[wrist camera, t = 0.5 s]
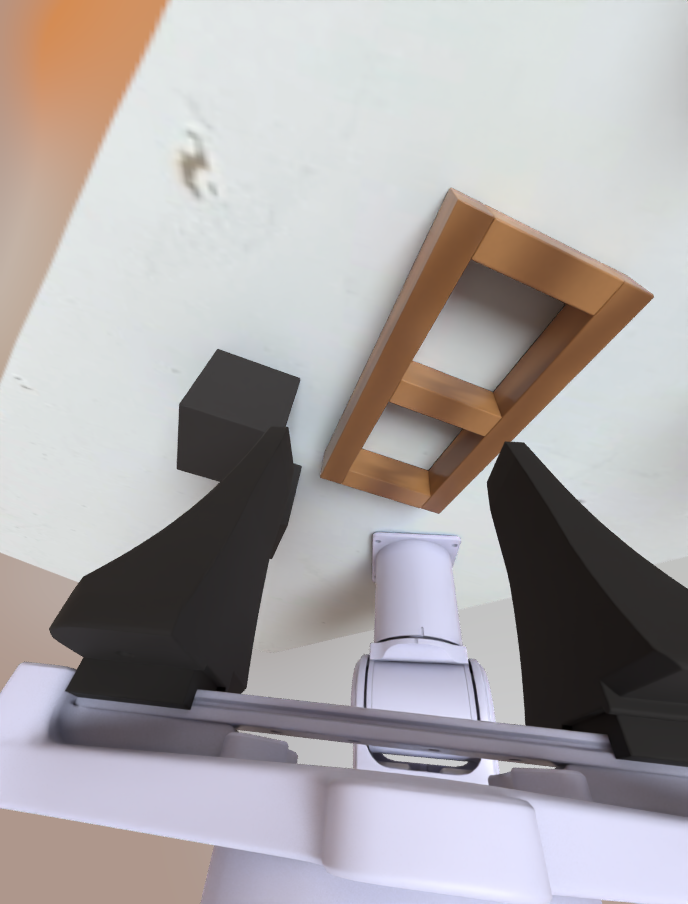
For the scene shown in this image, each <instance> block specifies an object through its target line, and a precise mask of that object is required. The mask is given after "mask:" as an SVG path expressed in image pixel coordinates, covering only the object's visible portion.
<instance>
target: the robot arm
mask: <svg viewBox="0 0 688 904" xmlns="http://www.w3.org/2000/svg"><path fill="white" fill-rule="evenodd" d="M293 471H294V465H293V458H292V451H291V443H290V436H289V428H288V427H274V426H271V427H270V428H268V429H267V431H266V432H265V433H264V434H263V436H262V437H261V438H260V439H259V440H258V442H257V443H256V444H255V445H254V446H253V448H252V449H251V450H250V451H249V452H248V453H247V454H246V456H245V457H244V458H243V459H242V460H241V461H240V462H239V463H238V464H237V465H236V467H235V468H234V469H233V470H232V471H231V472H230V473H229V474H228V475H227V476H226V477H225V478H224V479H223V480H222V481H221V482H220V483H219V484H218V485H217V486H216V487H215V488H214V489H213V490H211V491H210V492H209V493H208V494H207V495H206V496H205V497H204V498H203V499H201V500H200V501H199V502H198V503H197V504H195V505H194V506H193V507H192V508H191V509H189V510H188V511H187V512H186V513H184V514H183V515H182V516H180V517H179V518H178V519H176V520H175V521H174V522H172V523H171V524H170V525H168V526H167V527H166V528H164V529H163V530H161V531H160V532H158V533H157V534H155V535H154V536H152V537H151V538H149V539H148V540H146V541H145V542H143V543H142V544H140V545H138V546H137V547H135V548H134V549H132V550H130V551H129V552H127V553H125V554H124V555H122V556H120V557H118V558H117V559H115V560H113V561H111V562H109V563H108V564H106V565H104V566H102V567H100V568H99V569H97V570H95V571H93V572H91V573H89V574H87V575H86V576H84V577H83V578H82V579H81V580H80V582H79V583H78V585H77V586H76V587H75V589H74V590H73V592H72V593H71V595H70V597H69V598H68V600H67V601H66V603H65V604H64V606H63V607H62V609H61V611H60V612H59V614H58V615H57V617H56V618H55V620H54V622H53V623H52V625H51V627H50V628H49V630H50V633H51V635H52V637H53V638H54V639H56V640H57V641H58V642H60V643H61V644H63V645H65V646H66V647H68V648H69V649H71V650H73V651H74V652H76V653H77V654H79V655H81V656H82V657H84V658H83V659H82V661H81V663H80V665H79V667H78V668H77V670H76V669H74V668H70V667H65V666H60V665H51V664H41V663H32V662H23V663H20V664H19V665H18V667H17V668H16V670H15V671H14V673H13V675H12V676H11V678H10V679H9V680H8V682H7V683H6V685H5V686H4V688H3V689H2V691H1V692H0V808H3V809H9V810H15V811H21V812H27V813H33V814H39V815H45V816H51V817H57V818H62V819H68V820H73V821H79V822H85V823H90V824H96V825H102V826H108V827H113V828H119V829H125V830H130V831H136V832H142V833H148V834H153V835H159V836H165V837H171V838H176V839H182V840H188V841H194V842H199V843H205V844H211V845H214V849H213V853H212V857H211V861H210V865H209V870H208V874H207V878H206V883H205V887H204V891H203V895H202V900H201V904H602V902H601V900H609V901H620V902H630V903H640V904H688V589H687V588H686V587H684V586H683V585H681V584H680V583H678V582H677V581H675V580H674V579H672V578H671V577H669V576H668V575H667V574H665V573H664V572H663V571H661V570H660V569H658V568H657V567H656V566H654V565H653V564H652V563H650V562H649V561H648V560H646V559H645V558H644V557H642V556H641V555H640V554H638V553H637V552H636V551H634V550H633V549H632V548H631V547H629V546H628V545H627V544H626V543H624V542H623V541H622V540H621V539H620V538H618V537H617V536H616V535H615V534H614V533H613V532H611V531H610V530H609V529H608V528H607V527H605V526H604V525H603V524H602V523H601V522H600V521H599V520H598V519H597V518H596V517H594V516H593V515H592V514H591V513H590V512H589V511H588V510H587V509H586V508H585V507H584V506H583V505H582V504H581V503H580V502H579V501H578V500H577V499H576V498H575V497H574V496H573V495H572V494H571V493H570V492H569V491H568V490H567V489H566V488H565V487H564V486H563V485H562V484H561V483H560V482H559V480H558V479H557V478H556V477H555V476H554V475H553V474H552V473H551V472H550V471H549V470H548V468H547V467H546V466H545V465H544V464H543V463H542V462H541V461H540V460H539V458H538V457H537V456H536V455H535V454H534V453H533V452H532V451H531V450H530V448H529V447H528V446H527V445H526V444H525V443H522V442H507V441H505V442H504V444H503V447H502V449H501V451H500V454H499V456H498V458H497V460H496V463H495V465H494V467H493V470H492V472H491V474H490V476H489V479H488V481H487V488H488V497H489V504H490V511H491V514H492V518H493V522H494V526H495V529H496V533H497V537H498V540H499V544H500V548H501V551H502V555H503V558H504V562H505V566H506V569H507V573H508V578H509V582H510V588H511V594H512V600H513V606H514V613H515V620H516V628H517V635H518V643H519V651H520V661H521V670H522V683H523V694H524V707H525V725H526V726H524V725H515V724H506V723H497V722H496V721H495V713H494V706H493V700H492V695H491V690H490V685H489V681H488V677H487V674H486V671H485V669H484V668H483V667H482V666H481V665H480V664H479V663H478V661H477V660H476V659H468V656H467V649H466V647H465V646H463V644H462V637H461V629H460V622H459V614H458V607H457V600H456V592H455V585H454V577H453V570H452V568H453V565H454V562H455V559H456V556H457V553H458V550H459V547H460V544H461V538H460V537H458V536H445V535H424V534H404V533H384V532H376V533H374V534H373V550H372V581H373V582H375V583H376V592H375V628H374V643H370V655H367V654H366V655H365V654H364V655H363V656H362V657H361V659H360V660H359V661H358V662H357V663H356V665H355V668H354V673H353V680H352V691H351V706H344V705H335V704H326V703H317V702H308V701H299V700H290V699H281V698H272V697H263V696H254V695H245V694H241V693H242V692H243V691H244V690H245V689H246V687H247V681H248V674H249V667H250V661H251V655H252V648H253V642H254V636H255V631H256V625H257V619H258V613H259V608H260V603H261V598H262V592H263V587H264V582H265V578H266V573H267V568H268V563H269V559H270V555H271V552H272V548H273V545H274V542H275V539H276V535H277V532H278V529H279V526H280V523H281V520H282V516H283V513H284V510H285V507H286V504H287V500H288V497H289V493H290V488H291V483H292V477H293ZM237 730H244V731H252V732H260V733H269V734H278V735H286V736H294V737H303V738H311V739H320V740H328V741H337V742H346V743H353V768H354V769H351V768H340V767H328V766H316V765H305V764H297V759H298V755H297V754H296V752H293V751H291V750H289V749H288V744H287V742H285V741H281V740H276V739H271V738H266V737H261V736H257V735H252V734H247V733H239V732H238V731H237ZM383 754H393V755H404V756H414V757H426V758H435V759H446V760H457V761H468V763H467V764H465V765H464V766H457V767H451V766H441V765H430V764H420V763H410V762H399V761H394V760H390V759H387V758H386V757H384V756H383ZM498 760H499V761H507V762H516V763H525V764H534V765H542V766H550V767H556V768H555V769H539V768H538V769H537V768H512V770H511V772H507V773H504V774H500V773H499V765H498Z"/></svg>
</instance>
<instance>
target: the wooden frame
mask: <svg viewBox="0 0 688 904" xmlns="http://www.w3.org/2000/svg"><path fill="white" fill-rule="evenodd" d="M470 259H472V260H473V261H475V262H477V263H479V264H482V265H484V266H486V267H488V268H490V269H492V270H495V271H497V272H499V273H501V274H503V275H505V276H507V277H510V278H512V279H514V280H516V281H518V282H520V283H523V284H525V285H527V286H529V287H531V288H533V289H536V290H538V291H540V292H542V293H544V294H546V295H549V296H551V297H553V298H555V299H557V300H559V301H561V302H564V303H566V305H565V306H564V307H563V309H562V310H561V311H560V312H559V314H558V315H557V316H556V317H555V318H554V320H553V321H552V322H551V323H550V324H549V326H548V327H547V328H546V329H545V330H544V332H543V333H542V334H541V335H540V337H539V338H538V339H537V340H536V341H535V343H534V344H533V345H532V346H531V347H530V349H529V350H528V351H527V352H526V353H525V355H524V356H523V357H522V358H521V360H520V361H519V362H518V363H517V364H516V366H515V367H514V368H513V369H512V370H511V372H510V373H509V374H508V375H507V377H506V378H505V379H504V380H503V381H502V383H501V384H500V385H499V386H498V387H497V389H496V390H495V391H494V392H491V391H489V390H486V389H484V388H481V387H479V386H476V385H473V384H471V383H468V382H466V381H463V380H461V379H458V378H456V377H453V376H450V375H448V374H445V373H443V372H440V371H438V370H435V369H432V368H430V367H427V366H425V365H422V364H420V363H417V362H415V361H412V360H413V358H414V357H415V355H416V353H417V351H418V350H419V348H420V346H421V345H422V343H423V341H424V339H425V338H426V336H427V334H428V332H429V331H430V329H431V327H432V325H433V324H434V322H435V320H436V318H437V317H438V315H439V313H440V312H441V310H442V308H443V306H444V305H445V303H446V301H447V299H448V298H449V296H450V294H451V292H452V291H453V289H454V287H455V286H456V284H457V282H458V280H459V279H460V277H461V275H462V273H463V272H464V270H465V268H466V266H467V265H468V263H469V261H470ZM653 297H654V295H653V294H652V293H650V292H649V291H648V290H646V289H645V288H643V287H642V286H641V285H639V284H638V283H637V282H635V281H634V280H633V279H631V278H630V277H628V276H627V275H625V274H623V273H621V272H619V271H617V270H615V269H613V268H611V267H609V266H607V265H605V264H603V263H600V262H599V261H597V260H595V259H593V258H591V257H589V256H587V255H585V254H583V253H581V252H579V251H577V250H575V249H573V248H571V247H569V246H567V245H565V244H563V243H561V242H559V241H557V240H555V239H553V238H551V237H549V236H547V235H545V234H543V233H541V232H539V231H537V230H535V229H533V228H531V227H529V226H527V225H525V224H523V223H521V222H519V221H517V220H515V219H513V218H511V217H509V216H507V215H505V214H503V213H501V212H499V211H497V210H495V209H493V208H491V207H489V206H487V205H484V204H483V203H481V202H479V201H477V200H475V199H473V198H471V197H469V196H467V195H465V194H463V193H461V192H459V191H457V190H455V189H453V188H450V189H449V191H448V193H447V195H446V197H445V199H444V201H443V203H442V205H441V208H440V210H439V212H438V214H437V216H436V218H435V220H434V222H433V224H432V227H431V229H430V231H429V233H428V235H427V237H426V239H425V241H424V243H423V246H422V248H421V250H420V252H419V254H418V256H417V258H416V260H415V262H414V265H413V267H412V269H411V271H410V273H409V275H408V277H407V279H406V281H405V284H404V286H403V288H402V290H401V292H400V294H399V296H398V298H397V300H396V303H395V305H394V307H393V309H392V311H391V313H390V315H389V317H388V319H387V322H386V324H385V326H384V328H383V330H382V332H381V334H380V336H379V339H378V341H377V343H376V345H375V347H374V349H373V351H372V353H371V355H370V358H369V360H368V362H367V364H366V366H365V368H364V370H363V372H362V374H361V377H360V379H359V381H358V383H357V385H356V387H355V389H354V391H353V393H352V396H351V398H350V400H349V402H348V404H347V406H346V408H345V410H344V412H343V415H342V417H341V419H340V421H339V423H338V425H337V427H336V429H335V431H334V434H333V436H332V438H331V440H330V442H329V444H328V446H327V448H326V450H325V453H324V458H323V463H322V469H321V474H320V478H323V479H327V480H330V481H333V482H336V483H340V484H341V483H342V484H343V485H346V486H349V487H352V488H356V489H359V490H362V491H365V492H369V493H372V494H375V495H378V496H382V497H385V498H388V499H391V500H395V501H398V502H401V503H404V504H408V505H411V506H414V507H417V508H422V509H425V510H428V511H431V512H435V513H438V514H439V513H440V512H441V511H442V510H443V509H444V508H445V507H446V506H447V505H448V504H449V503H450V502H451V501H452V500H453V499H454V498H455V497H456V496H457V495H458V494H459V493H460V492H461V491H462V490H463V489H464V488H465V487H466V486H467V485H468V484H469V483H470V482H471V481H472V480H473V479H474V478H475V477H476V476H477V475H478V474H479V473H480V472H481V471H482V470H483V469H484V468H485V467H486V466H487V465H488V464H489V463H490V462H491V461H492V460H493V459H494V458H495V457H496V456H497V455H498V454H499V453H500V451H501V449H502V447H503V444H504V442H505V441H507V442H511V441H512V440H513V439H514V438H515V437H516V436H517V435H518V434H519V433H520V432H521V431H522V430H523V429H524V428H525V427H526V426H527V425H528V424H529V423H530V422H531V421H532V420H533V419H534V418H535V417H536V416H537V415H538V414H539V413H540V412H541V411H542V410H543V409H544V408H545V407H546V406H547V405H548V404H549V403H550V402H551V401H552V400H553V399H554V398H555V397H556V396H557V395H558V394H559V392H560V391H561V390H562V389H563V388H564V387H565V386H566V385H567V384H568V383H569V382H570V381H571V380H572V379H573V378H574V377H575V376H576V375H577V374H578V373H579V372H580V371H581V370H582V369H583V368H584V367H585V366H586V365H587V364H588V363H589V362H590V361H591V360H592V359H593V358H594V357H595V356H596V355H597V354H598V353H599V352H600V351H601V350H602V349H603V348H604V347H605V346H606V345H607V344H608V343H609V342H610V341H611V340H612V339H613V338H614V337H615V336H616V335H617V334H618V333H619V332H620V331H621V330H622V329H623V328H624V327H625V326H626V325H627V324H628V323H629V322H630V321H631V320H632V319H633V318H634V317H635V316H636V315H637V314H638V313H639V312H640V311H641V310H642V309H643V308H644V307H645V306H646V305H647V304H648V303H649V302H650V301H651V300H652V299H653ZM388 402H391V403H394V404H396V405H399V406H402V407H405V408H407V409H410V410H413V411H416V412H418V413H421V414H424V415H427V416H430V417H432V418H435V419H438V420H441V421H443V422H446V423H449V424H452V425H454V426H457V427H460V428H463V430H462V431H461V432H460V433H459V435H458V436H457V437H456V438H455V439H454V441H453V442H452V443H451V444H450V446H449V447H448V448H447V449H446V450H445V452H444V453H443V454H442V455H441V456H440V458H439V459H438V460H437V461H436V462H435V464H434V465H433V466H432V467H431V469H430V470H429V471H428V470H425V469H422V468H419V467H416V466H413V465H410V464H407V463H404V462H401V461H398V460H395V459H392V458H389V457H386V456H383V455H380V454H376V453H373V452H370V451H367V450H364V449H362V447H363V445H364V443H365V442H366V440H367V438H368V436H369V435H370V433H371V431H372V430H373V428H374V426H375V424H376V423H377V421H378V419H379V417H380V416H381V414H382V412H383V410H384V409H385V407H386V405H387V404H388Z"/></svg>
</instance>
